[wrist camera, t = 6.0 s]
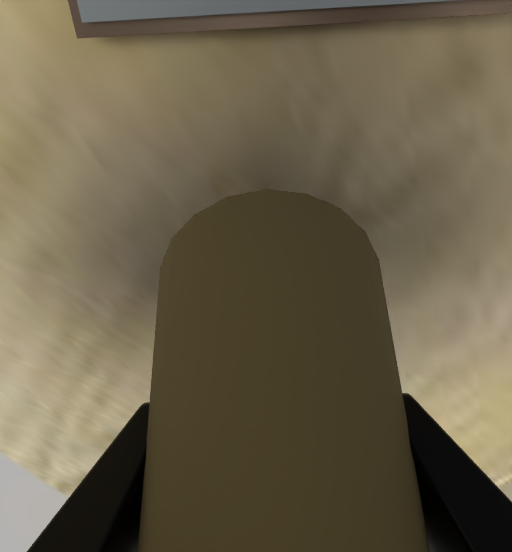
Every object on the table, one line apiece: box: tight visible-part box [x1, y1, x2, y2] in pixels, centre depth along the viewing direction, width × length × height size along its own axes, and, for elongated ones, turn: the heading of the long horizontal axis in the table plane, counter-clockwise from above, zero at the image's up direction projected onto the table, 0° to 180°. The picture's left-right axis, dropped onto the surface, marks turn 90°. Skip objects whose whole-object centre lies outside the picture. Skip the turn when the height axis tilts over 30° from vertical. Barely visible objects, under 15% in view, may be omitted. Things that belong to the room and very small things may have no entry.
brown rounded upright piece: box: [138, 190, 430, 552], centre depth 8 cm, size 6×6×11 cm
